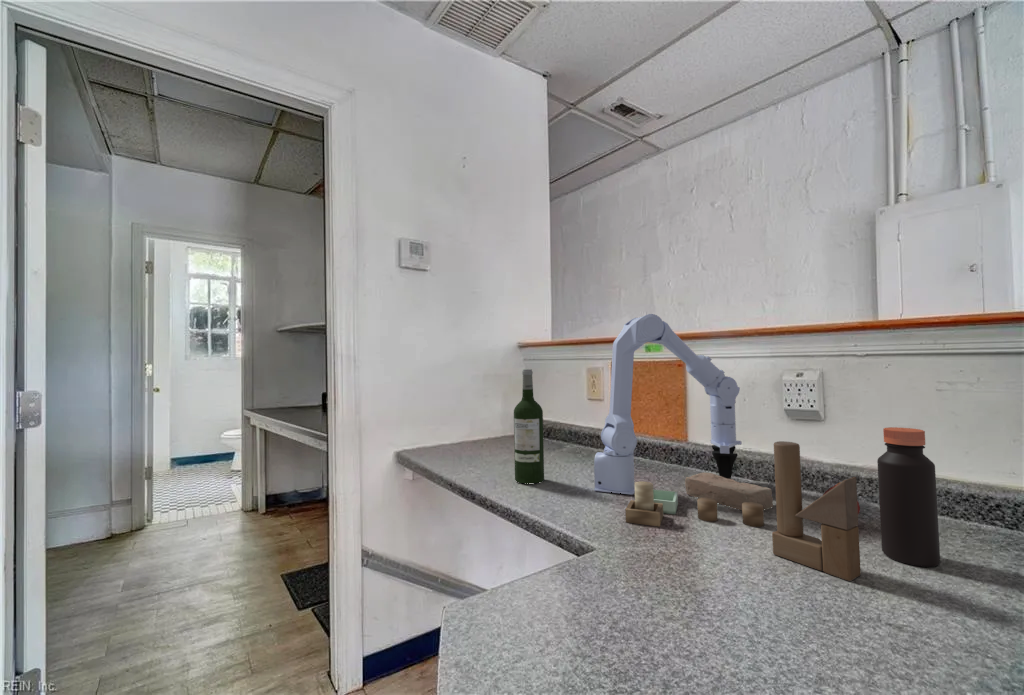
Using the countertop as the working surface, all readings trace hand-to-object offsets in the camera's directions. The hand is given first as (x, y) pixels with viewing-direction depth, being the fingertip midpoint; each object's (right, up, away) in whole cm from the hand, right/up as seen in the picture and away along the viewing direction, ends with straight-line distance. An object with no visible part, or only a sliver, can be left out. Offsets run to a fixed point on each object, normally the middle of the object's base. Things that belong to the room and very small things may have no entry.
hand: (725, 477), depth 111 cm
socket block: (-27, -2, -23) cm, 36 cm away
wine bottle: (-49, -3, +7) cm, 50 cm away
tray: (-21, -2, -16) cm, 27 cm away
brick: (-5, -2, -13) cm, 14 cm away
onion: (+8, -1, -28) cm, 30 cm away
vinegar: (+8, 0, -43) cm, 44 cm away
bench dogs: (-11, -1, -25) cm, 28 cm away
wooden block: (-8, -1, -44) cm, 45 cm away
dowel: (-27, -2, -23) cm, 36 cm away
